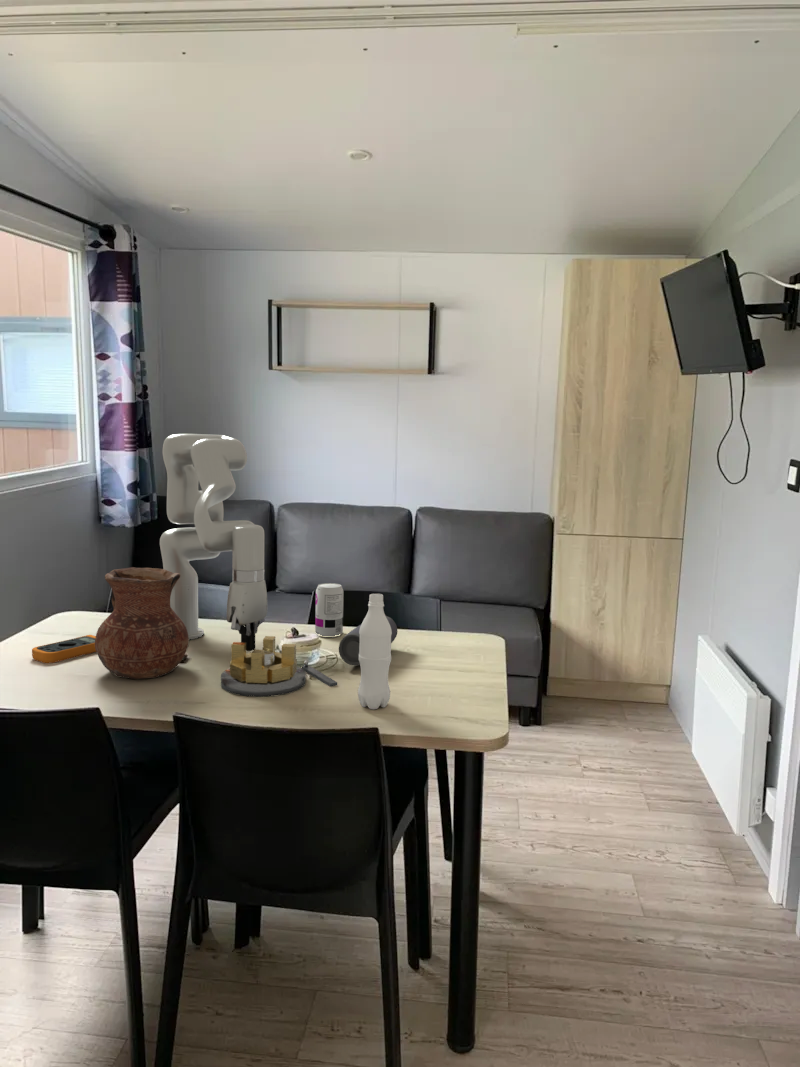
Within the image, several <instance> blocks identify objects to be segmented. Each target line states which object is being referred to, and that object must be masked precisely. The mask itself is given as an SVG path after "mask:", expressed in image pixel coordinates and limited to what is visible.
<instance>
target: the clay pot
mask: <svg viewBox="0 0 800 1067" xmlns="http://www.w3.org/2000/svg"><path fill="white" fill-rule="evenodd" d="M180 576H181V575H180V574H179V573H172V572H170V571H168V570H165V569H163V568H157V567H155V568H154V567H153V568H152V567H134V566H131V567H124V568H118V569H113V570H111V571H110V572H107V573H105V575H104V579H105V580H104V581H106V582H107V584H108V585H109V587H110V588H111V603H112V607H113V611H112V612H111V613H110V614H109V615H108V616H107V618H105V619H104V621H103V622H101V624H100V625H99V627H98V628H97V631H96V633H95V636H96V638H95V649H96V652H95V653H96V654H97V657H98V659H99V661H100V662H101V663H102V665H103V666H104V668H105V669H107V670H108V671H109V672H110V673H112V674H113V675H115V676H116V677H118V678H124V679H125V678H126V679H134V680H135V679H136V680H138V679H139V680H140V679H141V680H142V679H145V680H146V679H153V678H158V677H162V676H164V675H167V674H169V673H171V672H172V671H173V670H175V669H176V668H177V666H179V664H180V663H181V662H182V660H183V658H184V657H185V655H186V652H187V650H188V647H189V643H190V642H189V641H190V640H189V637H188V632H187V629H186V626H185V624H184V623H183V621H182V620H181V619H180V618H179V616H178V615H177V614H176V613H175V612H174V611H173V609H172V608H171V607H170V596H171V592H172V589H173V587H174V586H175V584H176V582H177V581H178V579H179V578H180Z"/></svg>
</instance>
